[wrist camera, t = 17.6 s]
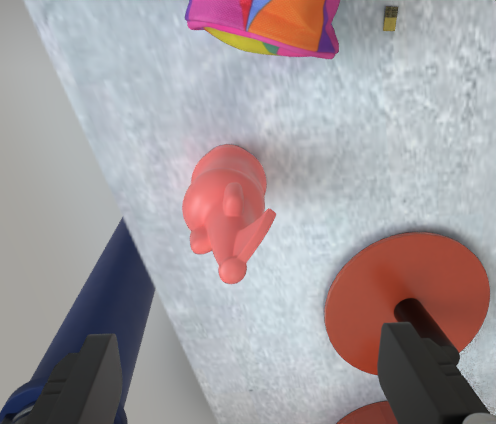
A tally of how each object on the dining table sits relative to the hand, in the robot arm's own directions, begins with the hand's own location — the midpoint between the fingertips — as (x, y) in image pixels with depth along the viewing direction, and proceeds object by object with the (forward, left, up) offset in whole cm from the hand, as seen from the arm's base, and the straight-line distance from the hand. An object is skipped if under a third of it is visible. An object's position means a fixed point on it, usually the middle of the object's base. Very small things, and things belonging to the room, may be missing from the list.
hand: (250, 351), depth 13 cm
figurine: (0, 0, -20) cm, 20 cm away
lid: (+14, -12, -19) cm, 27 cm away
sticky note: (+11, +10, -20) cm, 24 cm away
